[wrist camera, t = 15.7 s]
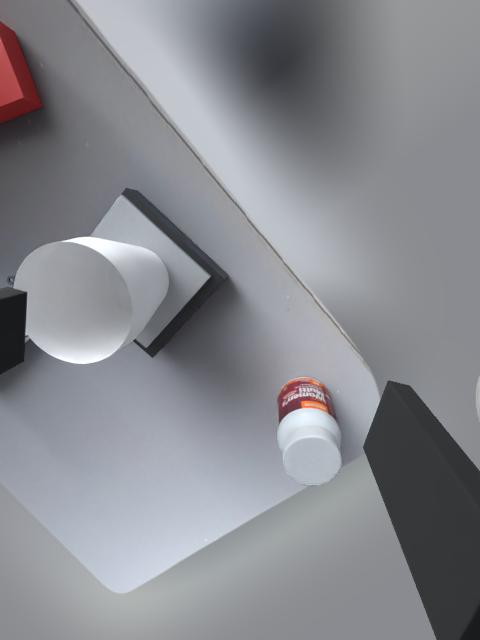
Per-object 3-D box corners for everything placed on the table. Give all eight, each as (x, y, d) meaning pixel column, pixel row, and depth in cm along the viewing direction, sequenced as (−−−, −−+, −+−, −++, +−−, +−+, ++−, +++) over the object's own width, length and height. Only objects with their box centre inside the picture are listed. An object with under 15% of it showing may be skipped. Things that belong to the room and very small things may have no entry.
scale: (228, 275, 39) (223, 280, 35) (161, 348, 42) (150, 360, 38) (137, 190, 37) (123, 187, 34) (74, 273, 40) (56, 278, 37)
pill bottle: (321, 368, 40) (337, 422, 29) (336, 415, 42) (357, 482, 31) (270, 383, 41) (267, 439, 31) (285, 427, 43) (289, 497, 32)
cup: (90, 309, 37) (7, 347, 26) (101, 223, 35) (14, 223, 23) (172, 331, 37) (125, 379, 26) (189, 246, 35) (145, 257, 23)
